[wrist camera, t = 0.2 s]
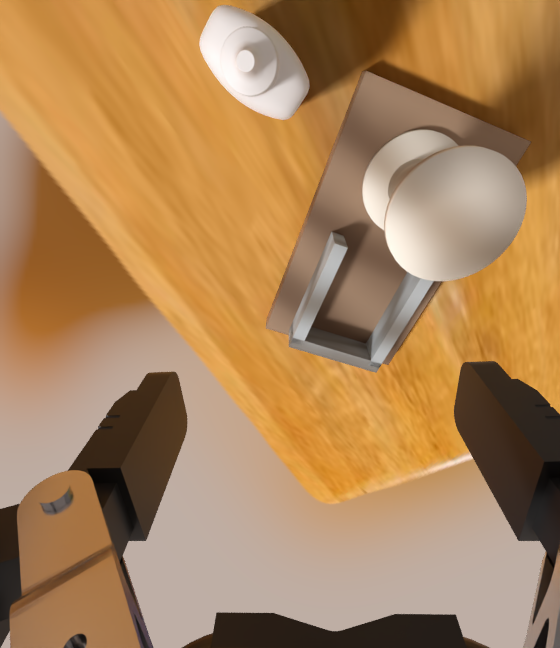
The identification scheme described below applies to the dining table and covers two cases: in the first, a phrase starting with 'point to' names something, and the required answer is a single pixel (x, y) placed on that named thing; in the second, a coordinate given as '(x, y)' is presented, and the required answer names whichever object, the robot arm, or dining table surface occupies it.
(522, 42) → the dining table surface
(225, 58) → the eye dropper bottle
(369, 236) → the board
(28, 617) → the robot arm
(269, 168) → the dining table surface
